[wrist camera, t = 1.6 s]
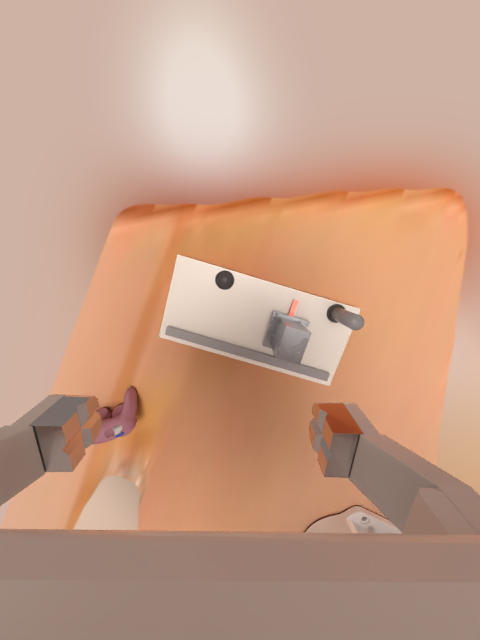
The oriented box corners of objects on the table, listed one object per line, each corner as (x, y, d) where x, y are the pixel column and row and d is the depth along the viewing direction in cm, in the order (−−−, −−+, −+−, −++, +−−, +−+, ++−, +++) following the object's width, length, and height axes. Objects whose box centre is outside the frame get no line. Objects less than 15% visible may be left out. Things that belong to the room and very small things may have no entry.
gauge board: (354, 307, 34) (386, 317, 26) (324, 380, 36) (346, 409, 28) (181, 255, 33) (161, 250, 25) (163, 333, 35) (139, 350, 28)
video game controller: (94, 410, 40) (75, 453, 35) (77, 395, 38) (53, 439, 32) (147, 399, 40) (136, 441, 34) (134, 383, 37) (119, 426, 31)
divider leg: (313, 305, 31) (328, 312, 25) (295, 353, 33) (306, 371, 27) (278, 294, 31) (285, 300, 25) (262, 343, 33) (265, 359, 27)
